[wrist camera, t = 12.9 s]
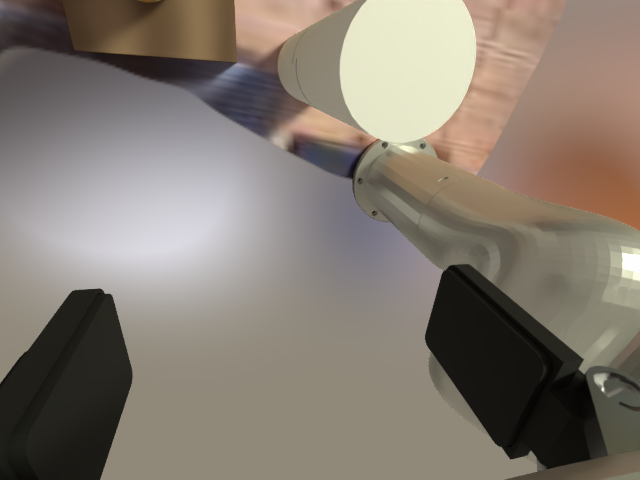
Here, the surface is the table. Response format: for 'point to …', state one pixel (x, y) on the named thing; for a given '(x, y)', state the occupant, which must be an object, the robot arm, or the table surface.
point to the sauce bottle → (149, 0)
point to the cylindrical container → (384, 65)
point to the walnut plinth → (154, 28)
